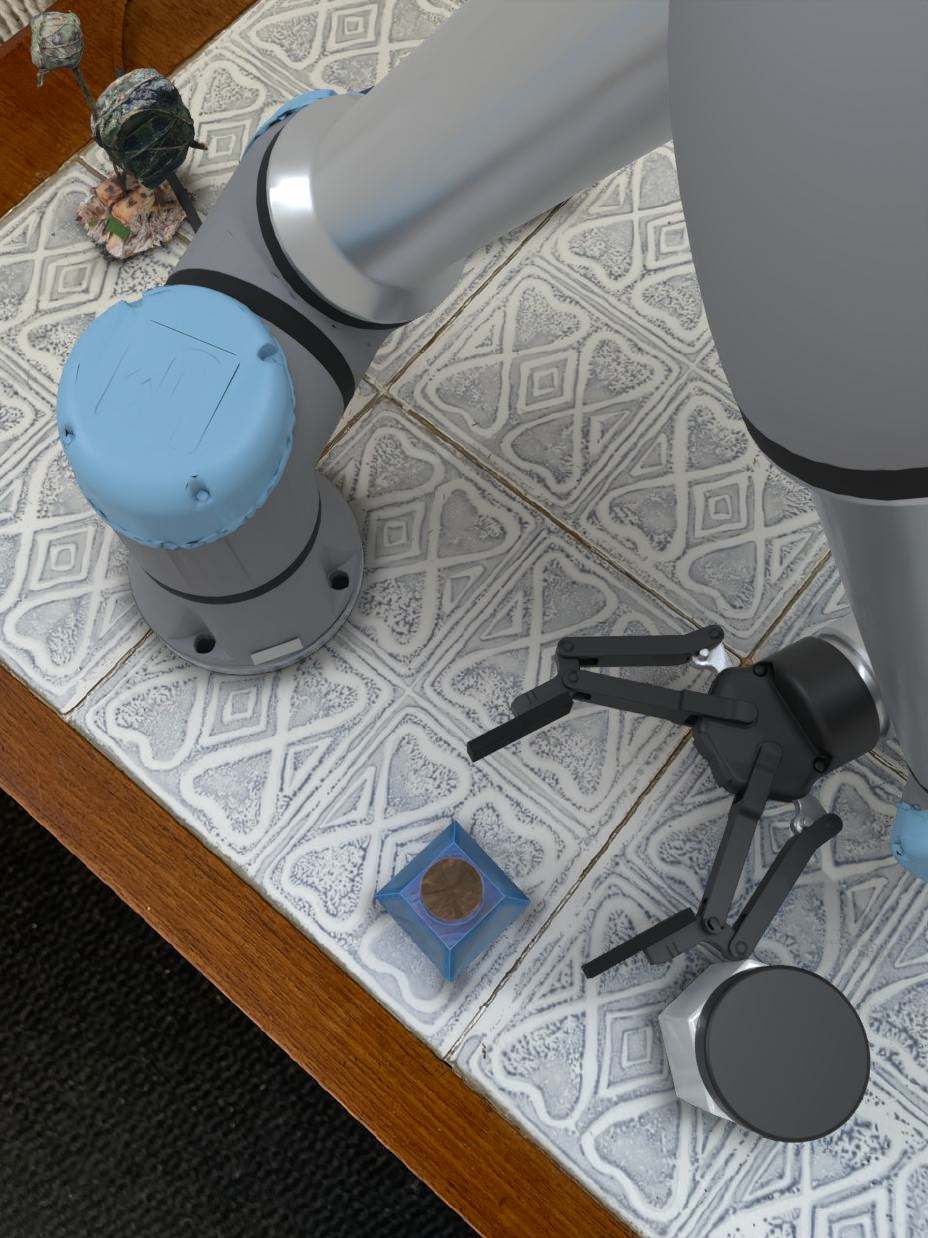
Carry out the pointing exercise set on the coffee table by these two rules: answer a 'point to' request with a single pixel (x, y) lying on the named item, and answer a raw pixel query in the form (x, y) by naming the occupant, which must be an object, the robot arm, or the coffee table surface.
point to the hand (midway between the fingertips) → (525, 859)
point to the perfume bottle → (452, 900)
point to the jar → (768, 1049)
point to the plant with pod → (124, 144)
